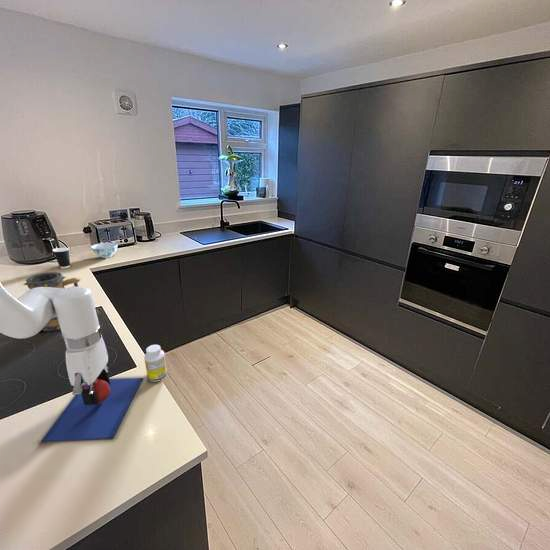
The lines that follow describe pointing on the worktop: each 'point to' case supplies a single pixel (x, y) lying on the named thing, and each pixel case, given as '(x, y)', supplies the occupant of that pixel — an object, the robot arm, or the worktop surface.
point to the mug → (50, 281)
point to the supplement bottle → (155, 363)
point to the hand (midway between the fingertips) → (98, 393)
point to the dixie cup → (62, 257)
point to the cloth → (95, 414)
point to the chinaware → (105, 249)
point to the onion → (101, 389)
